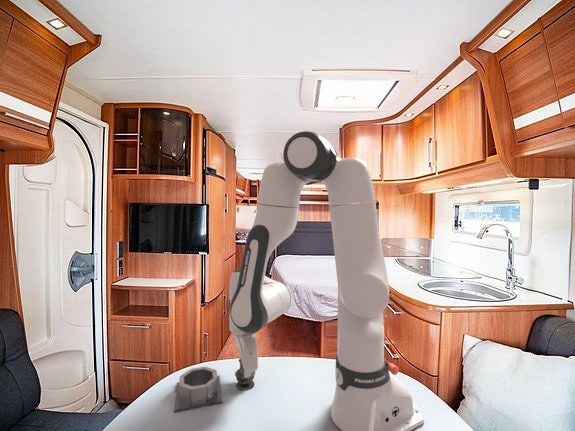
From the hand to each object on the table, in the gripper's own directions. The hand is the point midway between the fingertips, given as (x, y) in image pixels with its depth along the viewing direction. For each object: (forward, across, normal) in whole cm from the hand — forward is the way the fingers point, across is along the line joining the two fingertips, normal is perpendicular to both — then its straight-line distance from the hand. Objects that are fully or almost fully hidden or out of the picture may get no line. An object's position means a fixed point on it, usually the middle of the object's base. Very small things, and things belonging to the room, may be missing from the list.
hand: (245, 369), depth 85 cm
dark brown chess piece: (+5, 0, 0) cm, 5 cm away
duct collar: (+4, 0, +13) cm, 14 cm away
